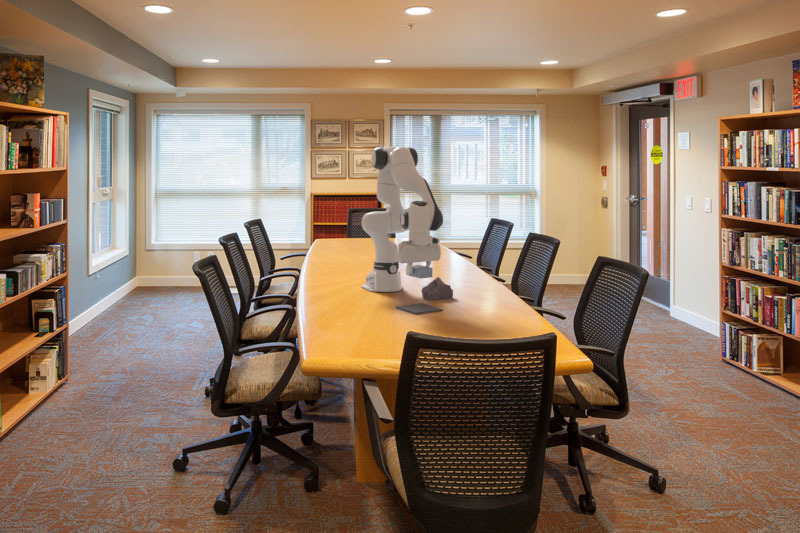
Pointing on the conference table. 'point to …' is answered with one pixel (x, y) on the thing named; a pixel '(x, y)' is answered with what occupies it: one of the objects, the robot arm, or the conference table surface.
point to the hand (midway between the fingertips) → (419, 272)
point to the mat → (418, 308)
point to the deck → (420, 271)
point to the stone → (437, 290)
